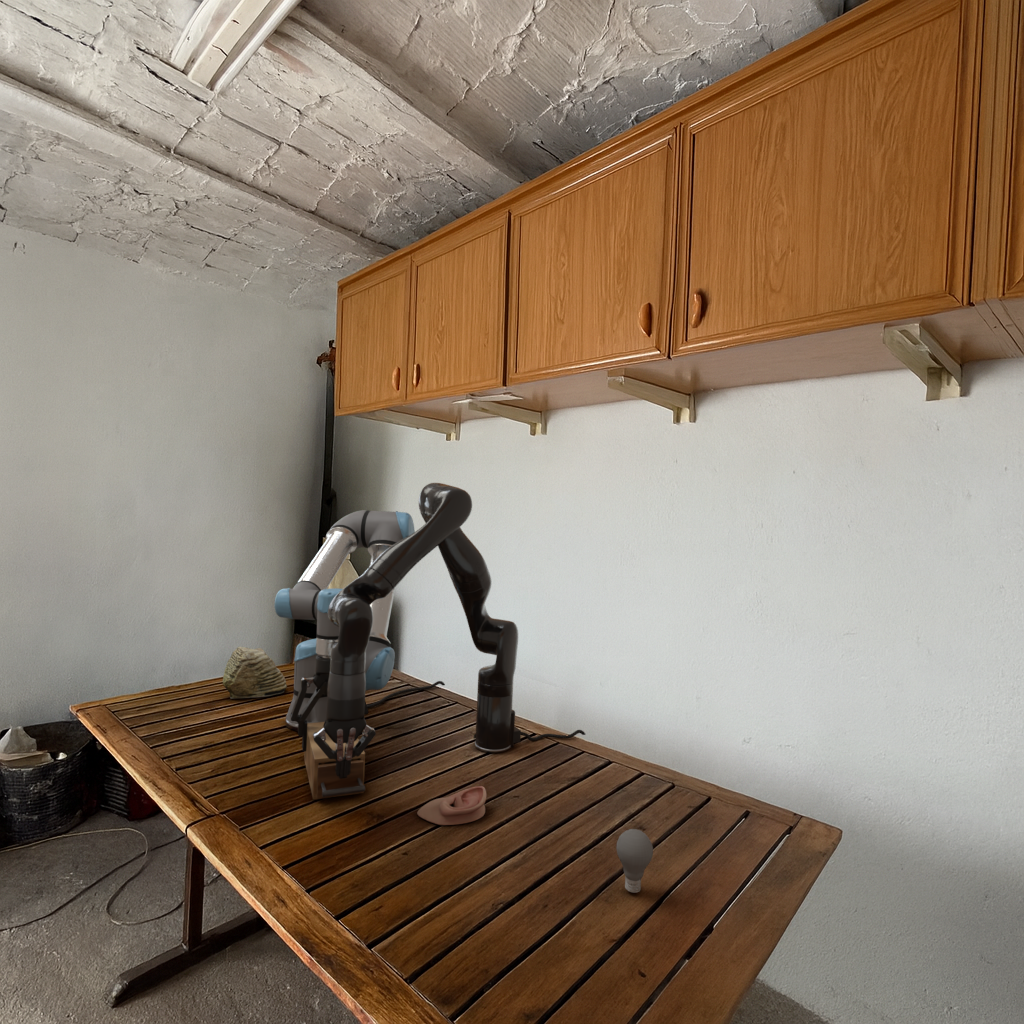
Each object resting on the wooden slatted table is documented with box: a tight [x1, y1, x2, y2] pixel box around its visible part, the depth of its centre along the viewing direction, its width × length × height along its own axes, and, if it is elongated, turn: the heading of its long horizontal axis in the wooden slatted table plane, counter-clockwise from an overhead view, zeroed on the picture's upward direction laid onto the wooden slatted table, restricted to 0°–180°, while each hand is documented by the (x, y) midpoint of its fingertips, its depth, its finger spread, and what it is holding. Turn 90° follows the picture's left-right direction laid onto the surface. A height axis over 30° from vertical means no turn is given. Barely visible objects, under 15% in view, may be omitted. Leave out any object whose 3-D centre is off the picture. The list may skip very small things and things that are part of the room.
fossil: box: [222, 646, 288, 699], centre depth 198 cm, size 9×18×15 cm, turn 132°
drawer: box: [316, 759, 366, 800], centre depth 140 cm, size 26×9×7 cm, turn 23°
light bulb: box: [615, 828, 654, 894], centre depth 106 cm, size 6×6×10 cm
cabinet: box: [303, 722, 366, 800], centre depth 144 cm, size 22×10×9 cm, turn 23°
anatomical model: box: [416, 785, 488, 826], centre depth 129 cm, size 13×4×12 cm
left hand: (328, 746), depth 151 cm, fingers closed on cabinet, 10 cm apart
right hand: (342, 776), depth 130 cm, fingers closed
